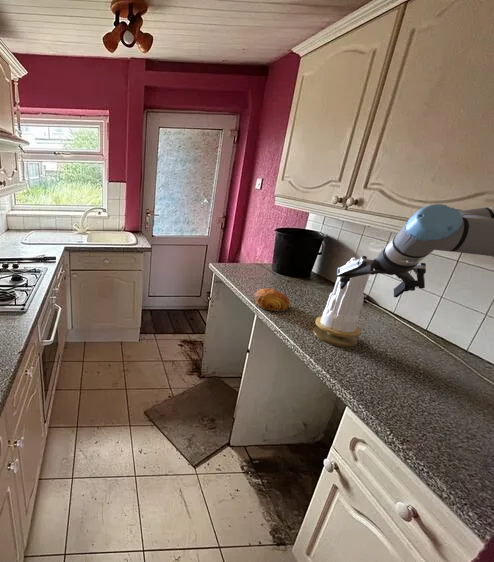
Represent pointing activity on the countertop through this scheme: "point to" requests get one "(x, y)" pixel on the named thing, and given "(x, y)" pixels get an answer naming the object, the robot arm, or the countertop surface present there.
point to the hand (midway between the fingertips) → (367, 289)
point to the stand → (335, 335)
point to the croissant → (271, 299)
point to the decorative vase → (345, 304)
